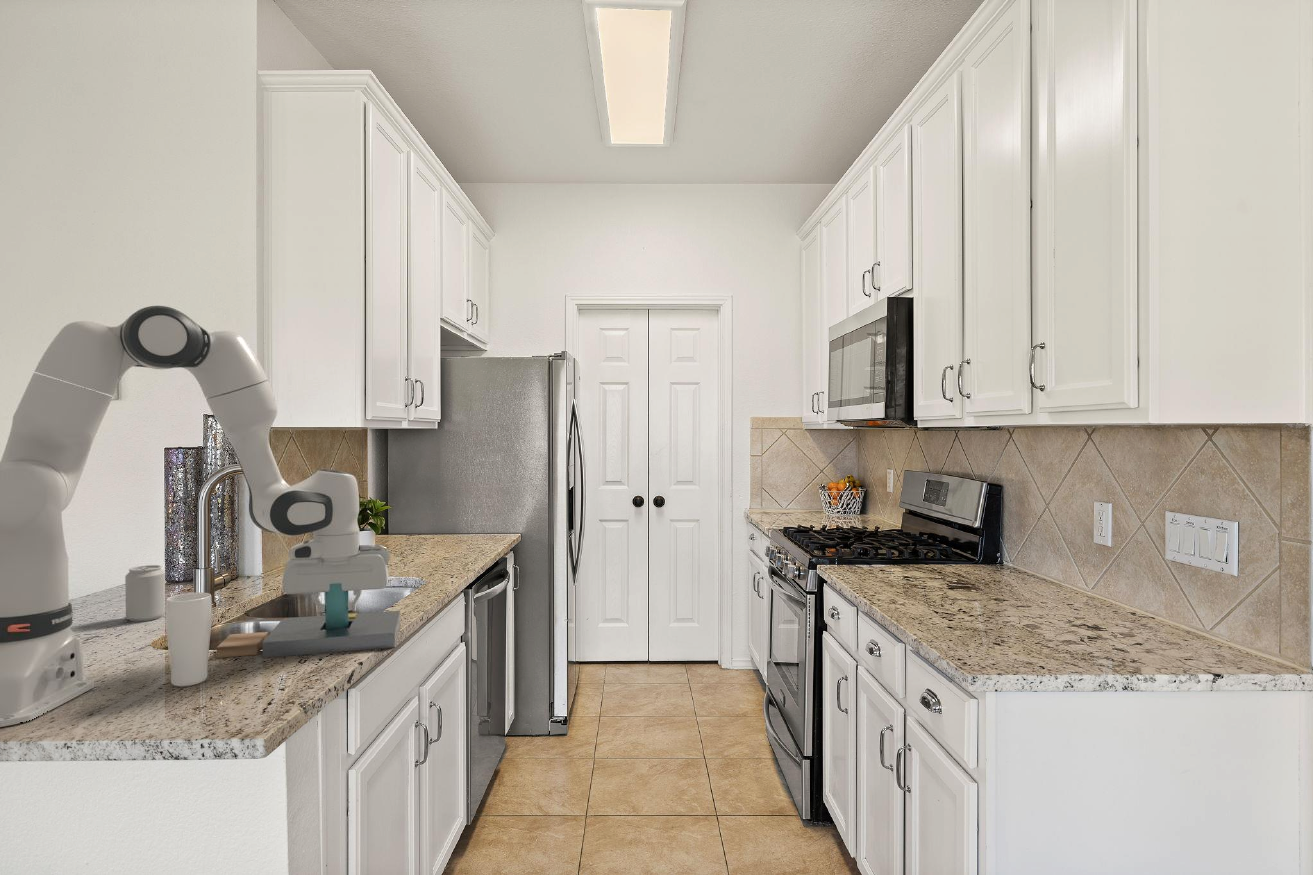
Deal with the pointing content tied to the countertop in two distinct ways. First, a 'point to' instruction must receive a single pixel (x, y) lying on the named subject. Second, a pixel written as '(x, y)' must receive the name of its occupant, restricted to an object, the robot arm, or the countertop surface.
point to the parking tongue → (241, 644)
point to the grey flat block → (332, 634)
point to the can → (145, 593)
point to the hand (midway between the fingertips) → (336, 612)
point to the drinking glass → (188, 637)
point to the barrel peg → (336, 607)
